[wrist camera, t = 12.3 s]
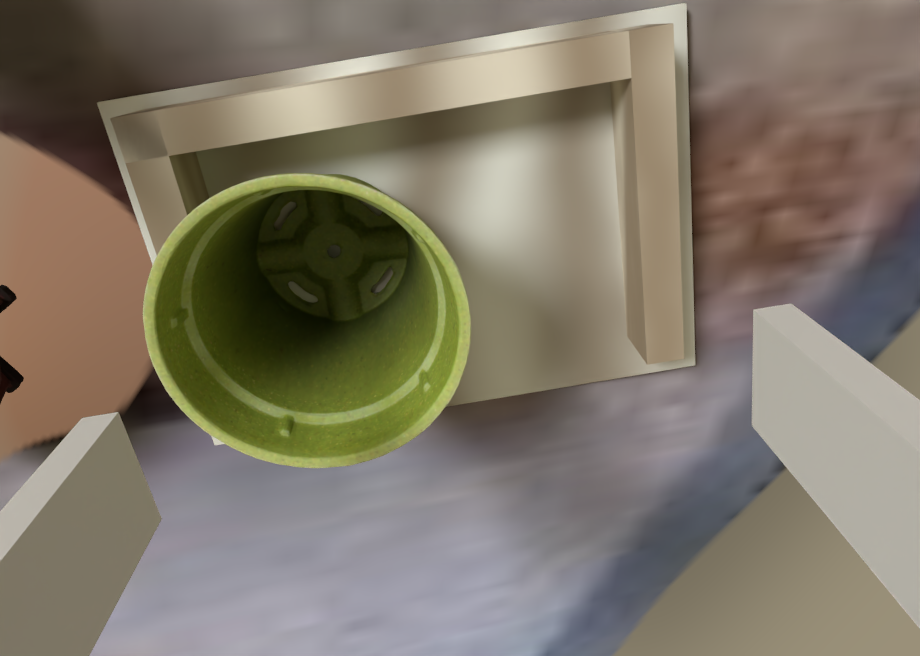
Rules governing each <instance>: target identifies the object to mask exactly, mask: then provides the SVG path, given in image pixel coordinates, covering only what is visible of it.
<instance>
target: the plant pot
mask: <svg viewBox="0 0 920 656" xmlns="http://www.w3.org/2000/svg"><path fill="white" fill-rule="evenodd" d="M353 197H354V198H356V199H354V198H353ZM357 199H359V200H361V201H364V202H366V203H368V204H370V205H372V206H374V207H376V208H377V209H379V210H381V211H382V214H381V215H380V216H376V215H375V214H374V212H372V211H371V210H370V209H369V208H368V207H367V206H365V205H364V204H363V203H361V202H359V201H357ZM289 202H295V203H296V206H297V207H296V208H295V209H294V210H293V211H292V212H291V214H290V215H289V216H288V217H287V219H286V220H285V222H284V223H283V225H282V228H281V230H275V229H276V228H275V227H274V223H275V222H276V220H277V219H278V217H279V216H280V212H281V210H282V208H283V207H284V206H285V205H287V204H288V203H289ZM332 245H337V246H339V247H340V254H339V255H338V256H337V257H335V258H333V257H331V256H329V254H328V249H329V248H330V246H332ZM388 267H391V268H392V272H393V274H392V276H391V278H390V280H389V281H388V283H387V284H386V286H385V287H384V288H383V289H382V290H381V291H380V292H377V293H373V292H371V289H372V288H373V287H374V286H375V285H376V284H377V282H379V281H380V280H381V278H382V277H383V275H384V274H385V272H386V270H387V269H388ZM289 282H295V283H296V284H297V285H298V286H300V287H301V288H302V289H303V290H304V291H306V292H308V293H309V294H312V295H314V296H316V297H317V299H318V301H317V302H314V303H312V302H307V301H305V300H303V299H301V298H300V297H299V296H297V295H296V294H294V292H293V291H292V290H291V289H290V288H289V285H288V283H289ZM143 305H144V306H143V323H144V329H145V338H146V342H147V347H148V351H149V355H150V358H151V361H152V363H153V366H154V368H155V370H156V372H157V374H158V376H159V378H160V380H161V382H162V384H163V385H164V387H165V389H166V391H167V392H168V394H169V395H170V396H171V398H172V399H173V400H174V401H175V403H176V404H177V405H178V406H179V407H180V409H181V410H182V411H183V412H184V413H185V414H186V415H187V416H188V417H189V418H190V419H191V420H192V421H193V422H194V423H196V424H197V425H198V426H199V427H200V428H202V429H203V430H204V431H205V432H207V433H208V434H210V435H211V436H213V437H214V438H216V439H218V440H220V441H221V442H223V443H224V444H226V445H228V446H230V447H231V448H234V449H236V450H238V451H240V452H242V453H244V454H246V455H249V456H252V457H254V458H257V459H260V460H264V461H267V462H271V463H276V464H280V465H288V466H294V467H306V468H327V467H342V466H350V465H354V464H358V463H362V462H365V461H369V460H372V459H375V458H378V457H380V456H383V455H385V454H387V453H389V452H391V451H393V450H395V449H397V448H399V447H401V446H403V445H404V444H406V443H407V442H409V441H411V440H412V439H414V438H415V437H417V436H418V435H419V434H420V433H421V432H423V431H424V430H425V429H426V428H427V427H429V426H430V424H431V423H432V422H433V421H434V420H435V419H436V418H437V417H438V416H439V414H440V413H441V412H442V411H443V409H444V408H445V407H446V405H447V404H448V403H449V401H450V400H451V398H452V397H453V395H454V393H455V391H456V390H457V388H458V385H459V383H460V381H461V378H462V376H463V373H464V370H465V367H466V363H467V360H468V355H469V348H470V343H471V316H470V307H469V301H468V296H467V292H466V288H465V285H464V282H463V279H462V277H461V274H460V272H459V270H458V267H457V265H456V264H455V262H454V260H453V258H452V257H451V255H450V253H449V252H448V250H447V248H446V247H445V245H444V244H443V243H442V241H441V240H440V239H439V237H438V236H437V235H436V234H435V232H434V231H433V230H432V229H431V228H430V227H429V226H428V225H427V224H426V223H425V222H424V221H423V220H422V219H421V218H420V217H419V216H417V215H416V214H415V213H414V212H413V211H411V210H410V209H409V208H407V207H406V206H405V205H403V204H402V203H400V202H399V201H397V200H396V199H394V198H392V197H390V196H389V195H387V194H385V193H383V192H381V191H380V190H378V189H377V188H375V187H374V186H372V185H371V184H369V183H367V182H365V181H362V180H360V179H357V178H355V177H351V176H347V175H342V174H314V173H285V174H276V175H270V176H264V177H259V178H256V179H252V180H249V181H245V182H242V183H240V184H237V185H235V186H232V187H230V188H227V189H225V190H223V191H221V192H219V193H218V194H216V195H214V196H212V197H211V198H209V199H207V200H206V201H205V202H203V203H202V204H200V205H199V206H198V207H196V208H195V209H194V210H193V211H192V212H191V213H189V214H188V215H187V216H186V217H185V218H184V219H183V220H182V221H181V222H180V223H179V224H178V226H177V227H176V228H175V229H174V230H173V231H172V233H171V234H170V235H169V237H168V238H167V240H166V241H165V243H164V244H163V246H162V248H161V249H160V251H159V253H158V255H157V257H156V259H155V261H154V263H153V266H152V269H151V272H150V274H149V278H148V282H147V286H146V290H145V297H144V304H143Z"/></svg>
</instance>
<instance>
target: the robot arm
mask: <svg viewBox="0 0 920 656" xmlns="http://www.w3.org/2000/svg"><path fill="white" fill-rule="evenodd" d="M752 426H753V427H754V429H755V430H756V431H757V432H758V434H759V435H760V436H761V437H762V438H763V440H764V441H765V442H766V443H767V444H768V446H769V447H770V448H771V449H772V450H773V452H774V453H775V454H776V455H777V457H778V458H779V459H780V460H781V461H782V463H783V464H784V465H785V466H786V467H787V469H788V470H789V471H790V472H791V473H792V475H793V476H794V477H795V478H796V479H797V481H798V482H799V483H800V484H801V486H802V487H803V488H804V489H805V490H806V492H808V494H809V495H810V496H811V498H812V499H813V500H814V501H815V503H816V504H817V505H818V506H819V507H820V509H821V510H822V511H823V512H824V513H825V515H826V516H827V517H828V518H829V519H830V521H831V522H832V523H833V524H834V525H835V527H836V528H837V529H838V530H839V532H840V533H841V534H842V535H843V536H844V538H845V539H846V540H847V541H848V542H849V544H850V545H851V546H852V547H853V548H854V550H855V551H856V552H857V553H858V554H859V556H860V557H861V558H862V559H863V561H864V562H865V563H866V564H867V565H868V567H869V568H870V569H871V570H872V571H873V573H874V574H875V575H876V576H877V578H878V579H879V580H880V581H881V582H882V584H883V585H884V586H885V587H886V588H887V589H888V591H889V592H890V593H891V595H892V596H893V597H894V598H895V599H896V600H897V602H898V603H899V604H900V605H901V607H902V608H903V609H904V610H905V611H906V613H907V614H908V615H909V616H910V618H911V619H912V620H913V621H914V622H915V623H916V625H917V626H918V627H919V628H920V400H919V399H918V398H916V397H915V396H914V395H912V394H911V393H910V392H908V391H907V390H906V389H904V388H903V387H902V386H900V385H899V384H897V383H896V382H895V381H894V380H892V379H891V378H889V377H888V376H887V375H886V374H884V373H883V372H881V371H880V370H879V369H878V368H876V367H875V366H874V365H872V364H871V363H870V362H868V361H867V360H866V359H864V358H863V357H862V356H860V355H859V354H858V353H856V352H855V351H854V350H852V349H851V348H850V347H848V346H847V345H846V344H844V343H843V342H842V341H840V340H839V339H838V338H836V337H835V336H834V335H832V334H831V333H830V332H828V331H827V330H826V329H824V328H823V327H822V326H820V325H819V324H818V323H816V322H815V321H814V320H812V319H811V318H810V317H808V316H807V315H806V314H804V313H803V312H802V311H800V310H799V309H798V308H796V307H795V306H794V305H792V304H785V305H779V306H773V307H767V308H761V309H754V310H753V377H752ZM161 519H162V518H161V516H160V514H159V511H158V509H157V506H156V504H155V501H154V499H153V496H152V494H151V491H150V489H149V486H148V484H147V481H146V479H145V476H144V474H143V471H142V469H141V467H140V464H139V462H138V459H137V457H136V454H135V452H134V449H133V447H132V444H131V442H130V439H129V437H128V434H127V432H126V429H125V427H124V425H123V422H122V420H121V417H120V415H119V412H115V413H109V414H104V415H97V416H90V417H85V418H82V419H81V420H80V421H79V422H78V423H77V424H76V425H75V426H74V428H73V429H72V430H71V431H70V432H69V433H68V434H67V436H66V437H65V438H64V439H63V440H62V441H61V442H60V444H59V445H58V446H57V447H56V448H55V449H54V450H53V452H52V453H51V454H50V455H49V456H48V457H47V459H46V460H45V461H44V462H43V463H42V464H41V465H40V467H39V468H38V469H37V470H36V471H35V472H34V473H33V475H32V476H31V477H30V478H29V479H28V480H27V481H26V483H25V484H24V485H23V486H22V487H21V488H20V489H19V491H18V492H17V493H16V494H15V495H14V496H13V498H12V499H11V500H10V501H9V502H8V503H7V504H6V506H5V507H4V508H3V509H2V510H1V511H0V656H89V655H90V653H91V651H92V649H93V647H94V646H95V644H96V642H97V640H98V638H99V636H100V634H101V632H102V630H103V629H104V627H105V625H106V623H107V621H108V619H109V617H110V615H111V613H112V612H113V610H114V608H115V606H116V604H117V602H118V600H119V598H120V597H121V595H122V593H123V591H124V589H125V587H126V585H127V583H128V581H129V580H130V578H131V576H132V574H133V572H134V570H135V568H136V566H137V564H138V563H139V561H140V559H141V557H142V555H143V553H144V551H145V549H146V548H147V546H148V544H149V542H150V540H151V538H152V536H153V534H154V532H155V531H156V529H157V527H158V525H159V523H160V521H161Z"/></svg>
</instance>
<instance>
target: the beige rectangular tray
mask: <svg viewBox="0 0 920 656" xmlns="http://www.w3.org/2000/svg"><path fill="white" fill-rule="evenodd" d="M97 105H98V108H99V111H100V114H101V117H102V119H103V122H104V125H105V128H106V131H107V134H108V137H109V140H110V143H111V146H112V148H113V151H114V154H115V157H116V160H117V163H118V166H119V169H120V172H121V175H122V177H123V180H124V183H125V186H126V189H127V192H128V195H129V198H130V201H131V204H132V207H133V209H134V212H135V215H136V218H137V221H138V224H139V227H140V230H141V233H142V236H143V238H144V241H145V244H146V247H147V250H148V253H149V256H150V259H151V262H152V265H153V263H154V261H155V259H156V257H157V255H158V253H159V251H160V249H161V248H162V246H163V244H164V243H165V241H166V240H167V238H168V237H169V235H170V234H171V233H172V231H173V230H174V229H175V228H176V227H177V226H178V224H179V223H180V222H181V221H182V220H183V219H184V218H185V217H186V216H187V215H188V214H189V213H191V212H192V211H193V210H194V209H195V208H196V207H198V206H199V205H200V204H202V203H203V202H205V201H206V200H207V199H209V198H211V197H212V196H214V195H216V194H218V193H219V192H221V191H223V190H225V189H227V188H230V187H232V186H235V185H237V184H240V183H242V182H245V181H249V180H252V179H256V178H259V177H264V176H270V175H276V174H285V173H314V174H342V175H347V176H351V177H355V178H357V179H360V180H362V181H365V182H367V183H369V184H371V185H372V186H374V187H375V188H377V189H378V190H380V191H381V192H383V193H385V194H387V195H389V196H390V197H392V198H394V199H396V200H397V201H399V202H400V203H402V204H403V205H405V206H406V207H407V208H409V209H410V210H411V211H413V212H414V213H415V214H416V215H417V216H419V217H420V218H421V219H422V220H423V221H424V222H425V223H426V224H427V225H428V226H429V227H430V228H431V229H432V230H433V231H434V232H435V234H436V235H437V236H438V237H439V239H440V240H441V241H442V243H443V244H444V245H445V247H446V248H447V250H448V252H449V253H450V255H451V257H452V258H453V260H454V262H455V264H456V265H457V267H458V270H459V272H460V274H461V277H462V279H463V282H464V285H465V288H466V292H467V296H468V301H469V307H470V316H471V343H470V348H469V355H468V360H467V363H466V367H465V370H464V373H463V376H462V378H461V381H460V383H459V385H458V388H457V390H456V391H455V393H454V395H453V397H452V398H451V400H450V401H449V403H448V404H447V405H446V407H448V406H454V405H460V404H466V403H472V402H478V401H484V400H490V399H496V398H502V397H508V396H514V395H520V394H526V393H532V392H538V391H544V390H550V389H556V388H562V387H568V386H574V385H580V384H586V383H592V382H598V381H604V380H610V379H616V378H622V377H628V376H634V375H640V374H646V373H652V372H658V371H664V370H670V369H676V368H682V367H688V366H694V365H695V331H694V291H693V251H692V210H691V170H690V130H689V90H688V50H687V9H686V3H682V4H676V5H670V6H664V7H658V8H652V9H646V10H640V11H634V12H628V13H622V14H616V15H610V16H604V17H599V18H593V19H587V20H581V21H575V22H569V23H563V24H557V25H551V26H545V27H539V28H533V29H527V30H522V31H516V32H510V33H504V34H498V35H492V36H486V37H480V38H474V39H468V40H462V41H456V42H450V43H445V44H439V45H433V46H427V47H421V48H415V49H409V50H403V51H397V52H391V53H385V54H379V55H373V56H367V57H362V58H356V59H350V60H344V61H338V62H332V63H326V64H320V65H314V66H308V67H302V68H296V69H290V70H285V71H279V72H273V73H267V74H261V75H255V76H249V77H243V78H237V79H231V80H225V81H219V82H213V83H207V84H202V85H196V86H190V87H184V88H178V89H172V90H166V91H160V92H154V93H148V94H142V95H136V96H130V97H125V98H119V99H113V100H107V101H101V102H97ZM353 198H354V197H353ZM354 199H356V198H354ZM357 201H359V202H361V203H363V204H364V205H365V206H367V207H368V208H369V209H370V210H371V211H372V212H374V214H375V215H376V216H380V215H381V214H382V211H381V210H379V209H377V208H376V207H374V206H372V205H370V204H368V203H366V202H364V201H361V200H359V199H357ZM296 207H297V206H296V203H295V202H289V203H288V204H287V205H285V206H284V207H283V208H282V210H281V212H280V216H279V217H278V219H277V220H276V222H275V223H274V227H275V228H276V229H275V230H281V228H282V225H283V223H284V222H285V220H286V219H287V217H288V216H289V215H290V214H291V212H292V211H293V210H294V209H295V208H296ZM328 254H329V256H331V257H333V258H335V257H337V256H338V255H339V254H340V247H339V246H337V245H332V246H330V248H329V249H328ZM392 274H393V272H392V268H391V267H388V269H387V270H386V272H385V274H384V275H383V277H382V278H381V280H380V281H379V282H377V284H376V285H375V286H374V287H373V288H372V289H371V292H373V293H377V292H380V291H381V290H382V289H383V288H384V287H385V286H386V284H387V283H388V281H389V280H390V278H391V276H392ZM288 285H289V288H290V289H291V290H292V291H293V292H294V294H296V295H297V296H299V297H300V298H301V299H303V300H305V301H307V302H312V303H314V302H317V301H318V299H317V297H316V296H314V295H312V294H309V293H308V292H306V291H304V290H303V289H302V288H301V287H300V286H298V285H297V284H296V283H295V282H289V283H288ZM212 439H213V442H214V445H220V444H224V443H223V442H221V441H220V440H218V439H216V438H214V437H213V436H212Z"/></svg>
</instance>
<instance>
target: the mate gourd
mask: <svg viewBox="0 0 920 656" xmlns="http://www.w3.org/2000/svg"><path fill="white" fill-rule="evenodd" d="M15 299H16V296H15V294H14V293H13V292H12V291H11V290H10V289H9V288H8V287H7V286H4V285H1V286H0V313H1V312H2V311H3V310H5V309H6V308H7V307H8V306H9V305H10V304H11V303H12V302H13V301H14V300H15ZM23 379H24V378H23V376H22V375H21V374H20V373H19V372H18V371H17V370H15V369H14V368H13V367H12V366H11V365H10V364H9V363H8V362H6V361H5V360H4V359H3V358H2V357H1V356H0V403H1V401H2V398H3V396H4V394H5V392H6V391H7V392H8V393H11V392H13V391H14V390H16V389H17V388H18V387H19V386H20V384H21V382H22V381H23Z"/></svg>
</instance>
